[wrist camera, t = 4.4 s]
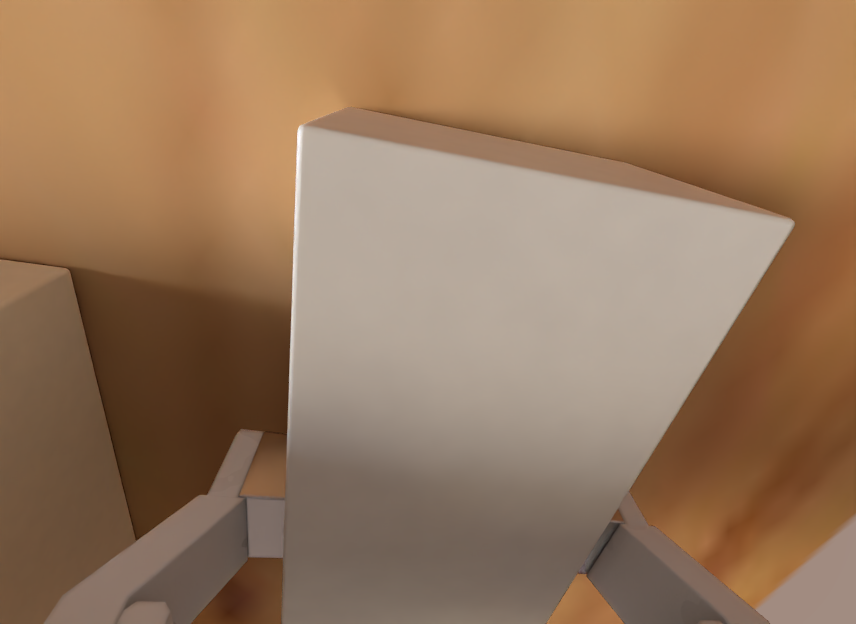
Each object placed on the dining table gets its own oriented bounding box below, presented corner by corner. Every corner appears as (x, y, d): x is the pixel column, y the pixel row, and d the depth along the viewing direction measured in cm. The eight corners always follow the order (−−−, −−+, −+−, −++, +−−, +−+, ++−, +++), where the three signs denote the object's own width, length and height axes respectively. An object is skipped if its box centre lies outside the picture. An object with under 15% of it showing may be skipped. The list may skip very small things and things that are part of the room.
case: (346, 106, 7) (295, 123, 4) (627, 163, 8) (801, 221, 5) (308, 561, 14) (277, 722, 10) (465, 569, 15) (486, 721, 11)
